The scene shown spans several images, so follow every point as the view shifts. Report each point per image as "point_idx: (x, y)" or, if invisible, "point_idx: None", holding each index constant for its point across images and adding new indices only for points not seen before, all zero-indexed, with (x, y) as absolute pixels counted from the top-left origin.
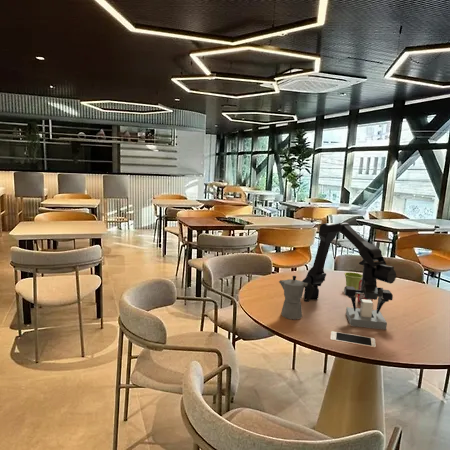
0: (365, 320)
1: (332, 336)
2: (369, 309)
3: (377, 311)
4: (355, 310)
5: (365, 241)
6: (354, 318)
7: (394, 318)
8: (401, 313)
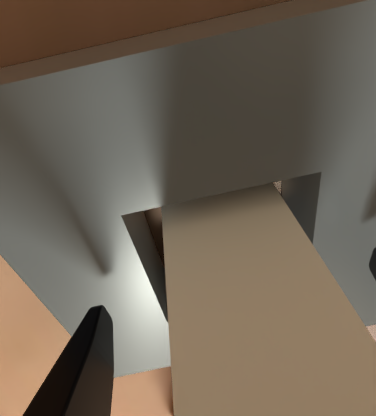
0: (260, 25)
1: None
2: (214, 312)
3: (93, 332)
4: None
5: None
6: None
7: (8, 347)
8: (3, 405)
